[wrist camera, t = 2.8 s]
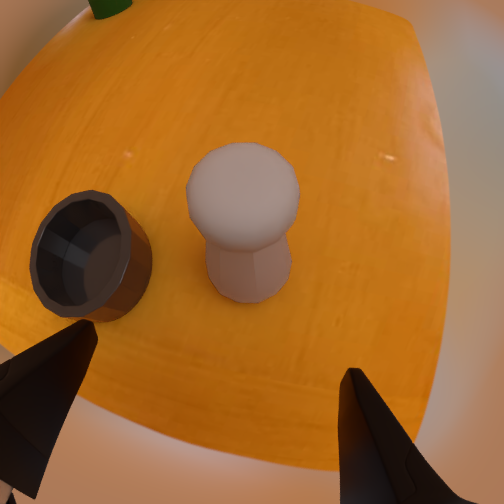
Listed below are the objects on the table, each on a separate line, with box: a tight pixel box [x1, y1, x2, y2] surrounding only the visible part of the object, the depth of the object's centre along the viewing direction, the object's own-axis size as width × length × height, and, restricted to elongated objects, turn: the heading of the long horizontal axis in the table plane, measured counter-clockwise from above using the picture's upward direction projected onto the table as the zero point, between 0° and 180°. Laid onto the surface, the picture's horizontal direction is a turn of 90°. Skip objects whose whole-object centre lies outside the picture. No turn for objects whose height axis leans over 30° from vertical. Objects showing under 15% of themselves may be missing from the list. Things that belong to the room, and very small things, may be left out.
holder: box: [29, 190, 152, 322], centre depth 20 cm, size 10×10×4 cm
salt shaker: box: [186, 143, 300, 303], centre depth 16 cm, size 6×6×13 cm
